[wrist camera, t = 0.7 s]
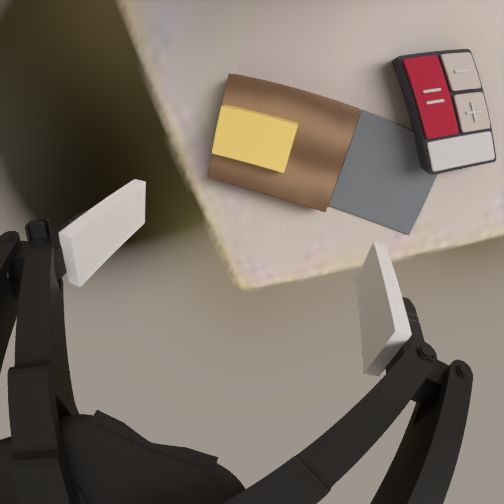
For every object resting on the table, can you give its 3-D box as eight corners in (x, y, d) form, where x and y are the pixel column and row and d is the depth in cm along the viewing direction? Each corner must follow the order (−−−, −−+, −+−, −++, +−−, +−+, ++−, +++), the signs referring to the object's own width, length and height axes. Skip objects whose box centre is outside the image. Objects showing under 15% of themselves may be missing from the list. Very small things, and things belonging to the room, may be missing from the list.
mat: (361, 109, 32) (361, 109, 32) (446, 148, 32) (447, 148, 32) (328, 204, 40) (328, 205, 40) (408, 233, 40) (408, 234, 39)
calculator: (473, 47, 21) (499, 162, 26) (459, 52, 25) (485, 156, 30) (398, 55, 25) (431, 177, 30) (390, 60, 28) (420, 169, 34)
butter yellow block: (226, 104, 33) (221, 106, 31) (298, 123, 33) (297, 125, 31) (216, 149, 36) (211, 153, 35) (285, 168, 36) (283, 173, 34)
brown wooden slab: (235, 74, 33) (228, 73, 31) (357, 108, 33) (360, 110, 30) (214, 170, 41) (207, 177, 39) (324, 203, 40) (325, 212, 38)
